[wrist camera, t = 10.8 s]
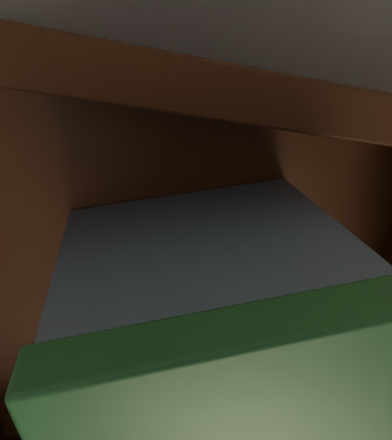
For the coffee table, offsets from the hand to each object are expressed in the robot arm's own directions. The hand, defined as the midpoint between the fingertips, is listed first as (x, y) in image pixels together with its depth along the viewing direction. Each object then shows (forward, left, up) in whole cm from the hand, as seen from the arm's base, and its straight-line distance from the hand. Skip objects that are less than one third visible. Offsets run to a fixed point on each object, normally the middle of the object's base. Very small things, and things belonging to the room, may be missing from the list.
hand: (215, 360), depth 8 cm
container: (0, 0, -2) cm, 2 cm away
